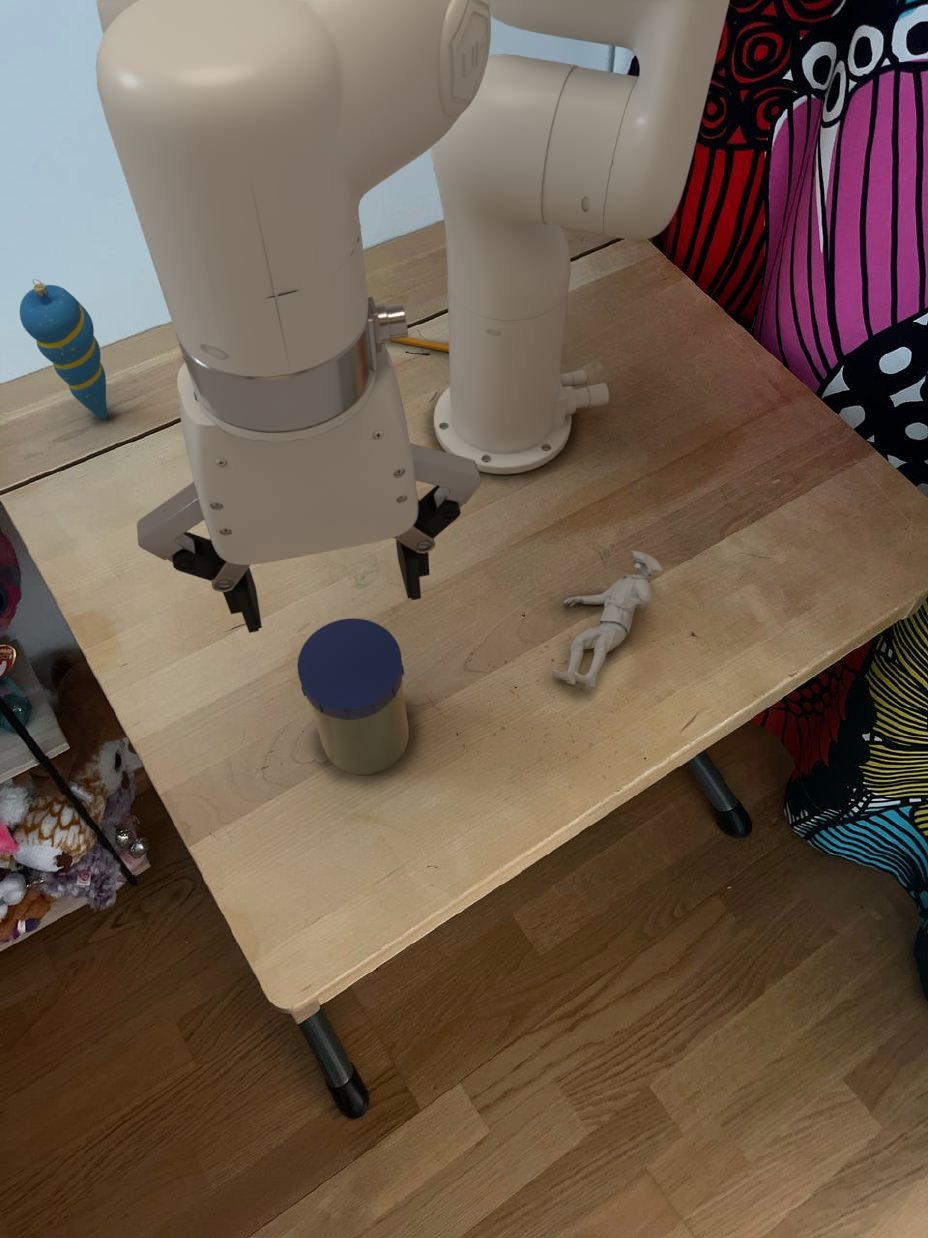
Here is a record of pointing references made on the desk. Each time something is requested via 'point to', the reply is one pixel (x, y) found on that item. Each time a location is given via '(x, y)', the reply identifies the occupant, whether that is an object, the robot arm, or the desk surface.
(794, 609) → the desk surface
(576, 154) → the robot arm
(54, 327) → the ornament
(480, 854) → the desk surface
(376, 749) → the jar
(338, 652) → the jar lid
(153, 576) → the desk surface
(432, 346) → the pencil
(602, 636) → the soldier figure
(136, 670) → the desk surface
